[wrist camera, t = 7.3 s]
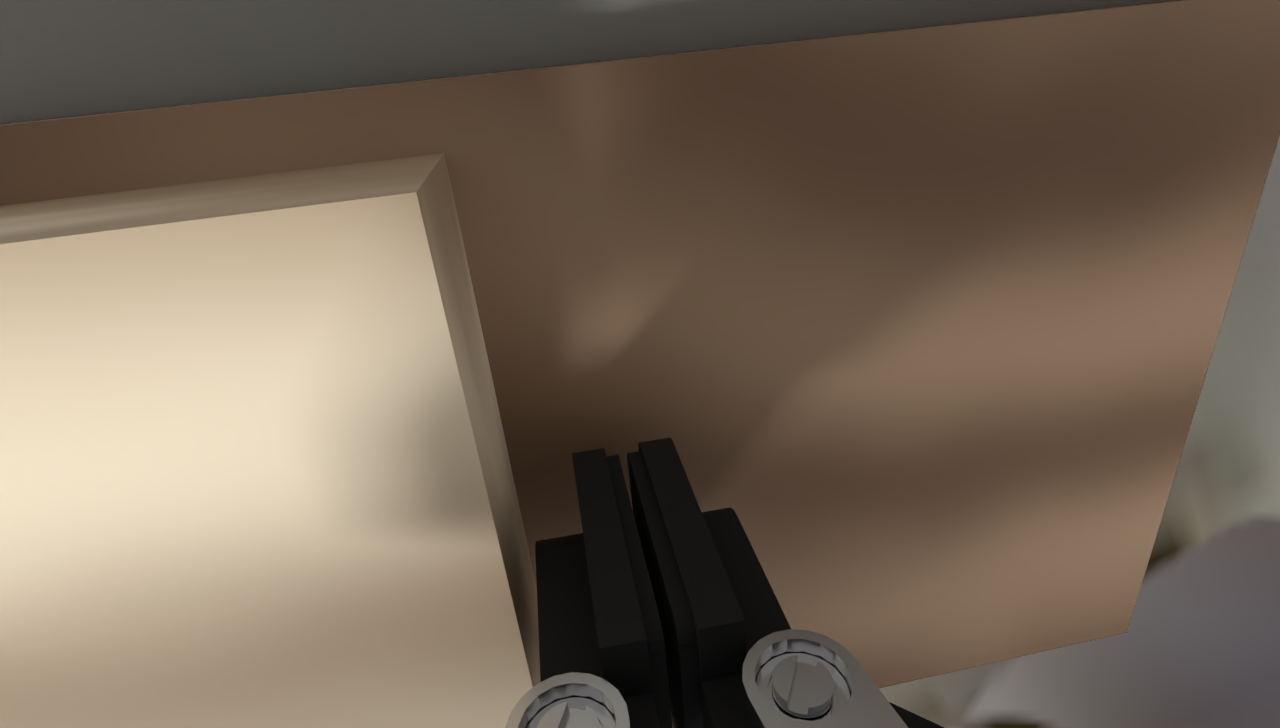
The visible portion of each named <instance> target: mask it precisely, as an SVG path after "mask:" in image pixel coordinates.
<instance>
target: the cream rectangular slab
mask: <svg viewBox="0 0 1280 728" xmlns="http://www.w3.org/2000/svg"><path fill="white" fill-rule="evenodd" d="M538 683H540V657H539V631H538V606H537V587H536V582H535V577H534V573H533V568H532V563H531V559H530V554H529V549H528V544H527V540H526V535H525V530H524V526H523V521H522V516H521V511H520V507H519V502H518V497H517V493H516V488H515V483H514V479H513V474H512V469H511V464H510V460H509V455H508V450H507V446H506V441H505V436H504V431H503V427H502V422H501V417H500V413H499V408H498V403H497V398H496V394H495V389H494V384H493V380H492V375H491V370H490V366H489V361H488V356H487V351H486V347H485V342H484V337H483V333H482V328H481V323H480V318H479V314H478V309H477V304H476V300H475V295H474V290H473V285H472V281H471V276H470V271H469V267H468V262H467V257H466V253H465V248H464V243H463V238H462V234H461V229H460V224H459V220H458V215H457V210H456V205H455V201H454V196H453V191H452V187H451V182H450V177H449V173H448V168H447V163H446V158H445V154H444V153H440V154H432V155H423V156H415V157H406V158H398V159H390V160H381V161H373V162H364V163H356V164H348V165H339V166H331V167H322V168H314V169H306V170H297V171H289V172H280V173H272V174H264V175H255V176H247V177H238V178H230V179H222V180H213V181H205V182H196V183H188V184H180V185H171V186H163V187H154V188H146V189H138V190H129V191H121V192H112V193H104V194H96V195H87V196H79V197H70V198H62V199H54V200H45V201H37V202H28V203H20V204H12V205H3V206H0V728H505V727H506V724H507V721H508V718H509V716H510V713H511V711H512V710H513V708H514V707H515V705H516V704H517V703H518V701H519V700H520V698H521V697H522V696H523V695H524V694H525V693H527V692H528V691H529V690H530V689H531V688H533V687H534V686H535V685H536V684H538Z"/></svg>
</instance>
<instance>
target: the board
mask: <svg viewBox="0 0 1280 728" xmlns="http://www.w3.org/2000/svg"><path fill="white" fill-rule="evenodd" d="M1279 135H1280V0H1179V1H1169V2H1159V3H1150V4H1140V5H1131V6H1121V7H1112V8H1102V9H1093V10H1083V11H1074V12H1064V13H1055V14H1045V15H1036V16H1026V17H1017V18H1007V19H998V20H988V21H979V22H969V23H960V24H950V25H941V26H931V27H922V28H912V29H903V30H893V31H884V32H874V33H864V34H855V35H845V36H836V37H826V38H817V39H807V40H798V41H788V42H779V43H769V44H760V45H750V46H741V47H731V48H722V49H712V50H703V51H693V52H684V53H674V54H665V55H655V56H646V57H636V58H627V59H617V60H608V61H598V62H589V63H579V64H569V65H560V66H550V67H541V68H531V69H522V70H512V71H503V72H493V73H484V74H474V75H465V76H455V77H446V78H436V79H427V80H417V81H408V82H398V83H389V84H379V85H370V86H360V87H351V88H341V89H332V90H322V91H313V92H303V93H294V94H284V95H274V96H265V97H255V98H246V99H236V100H227V101H217V102H208V103H198V104H189V105H179V106H170V107H160V108H151V109H141V110H132V111H122V112H113V113H103V114H94V115H84V116H75V117H65V118H56V119H46V120H37V121H27V122H18V123H8V124H0V206H3V205H12V204H20V203H28V202H37V201H45V200H54V199H62V198H70V197H79V196H87V195H96V194H104V193H112V192H121V191H129V190H138V189H146V188H154V187H163V186H171V185H180V184H188V183H196V182H205V181H213V180H222V179H230V178H238V177H247V176H255V175H264V174H272V173H280V172H289V171H297V170H306V169H314V168H322V167H331V166H339V165H348V164H356V163H364V162H373V161H381V160H390V159H398V158H406V157H415V156H423V155H432V154H440V153H444V154H445V158H446V163H447V168H448V173H449V177H450V182H451V187H452V191H453V196H454V201H455V205H456V210H457V215H458V220H459V224H460V229H461V234H462V238H463V243H464V248H465V253H466V257H467V262H468V267H469V271H470V276H471V281H472V285H473V290H474V295H475V300H476V304H477V309H478V314H479V318H480V323H481V328H482V333H483V337H484V342H485V347H486V351H487V356H488V361H489V366H490V370H491V375H492V380H493V384H494V389H495V394H496V398H497V403H498V408H499V413H500V417H501V422H502V427H503V431H504V436H505V441H506V446H507V450H508V455H509V460H510V464H511V469H512V474H513V479H514V483H515V488H516V493H517V497H518V502H519V507H520V511H521V516H522V521H523V526H524V530H525V535H526V540H527V544H528V549H529V554H530V559H531V563H532V568H533V573H534V577H535V582H536V587H537V581H536V555H535V543H536V541H540V540H545V539H551V538H557V537H563V536H568V535H574V534H580V533H583V530H582V523H581V516H580V509H579V502H578V494H577V487H576V480H575V473H574V466H573V459H572V453H576V452H582V451H589V450H595V449H601V448H604V449H605V453H606V457H607V456H613V455H619V459H620V463H621V467H622V471H623V474H624V478H625V482H626V486H627V490H628V494H629V498H630V502H631V506H632V499H631V489H630V480H629V470H628V460H627V453H631V452H637V451H638V443H639V442H645V441H651V440H657V439H663V438H672V440H673V443H674V445H675V447H676V450H677V452H678V455H679V457H680V460H681V462H682V465H683V467H684V470H685V472H686V475H687V477H688V480H689V482H690V485H691V487H692V490H693V492H694V495H695V497H696V500H697V502H698V505H699V507H700V509H701V512H706V511H712V510H718V509H723V508H729V507H731V508H732V509H734V511H735V513H736V514H737V516H738V518H739V520H740V522H741V525H742V527H743V529H744V531H745V533H746V535H747V537H748V539H749V541H750V543H751V545H752V548H753V550H754V552H755V554H756V556H757V558H758V560H759V562H760V564H761V566H762V569H763V571H764V573H765V575H766V577H767V579H768V581H769V583H770V585H771V587H772V589H773V592H774V594H775V596H776V598H777V600H778V602H779V604H780V606H781V608H782V610H783V613H784V615H785V617H786V619H787V621H788V623H789V625H790V627H791V629H797V630H809V631H813V632H816V633H819V634H822V635H826V636H828V637H829V638H831V639H833V640H834V641H836V642H838V643H839V644H841V645H843V646H844V647H845V648H846V649H847V650H848V651H849V652H850V653H851V654H852V655H853V656H854V657H855V658H856V660H857V661H858V662H859V664H860V665H861V666H862V668H863V669H864V670H865V672H866V673H867V674H868V675H869V677H870V678H871V679H872V681H873V682H874V683H875V685H876V686H877V687H878V688H882V687H887V686H891V685H896V684H900V683H905V682H909V681H913V680H918V679H922V678H927V677H931V676H936V675H940V674H945V673H949V672H954V671H958V670H963V669H967V668H971V667H976V666H980V665H985V664H989V663H994V662H998V661H1003V660H1007V659H1012V658H1016V657H1020V656H1025V655H1029V654H1034V653H1038V652H1043V651H1047V650H1052V649H1056V648H1061V647H1065V646H1069V645H1074V644H1078V643H1083V642H1087V641H1092V640H1096V639H1101V638H1105V637H1109V636H1114V635H1119V634H1123V633H1127V630H1128V627H1129V624H1130V620H1131V617H1132V614H1133V611H1134V607H1135V604H1136V601H1137V597H1138V594H1139V591H1140V588H1141V584H1142V581H1143V578H1144V575H1145V571H1146V568H1147V565H1148V562H1149V558H1150V555H1151V552H1152V549H1153V545H1154V542H1155V539H1156V536H1157V532H1158V529H1159V526H1160V523H1161V519H1162V516H1163V513H1164V510H1165V506H1166V503H1167V500H1168V497H1169V493H1170V490H1171V487H1172V483H1173V480H1174V477H1175V474H1176V470H1177V467H1178V464H1179V461H1180V457H1181V454H1182V451H1183V448H1184V444H1185V441H1186V438H1187V435H1188V431H1189V428H1190V425H1191V422H1192V418H1193V415H1194V412H1195V409H1196V405H1197V402H1198V399H1199V396H1200V392H1201V389H1202V386H1203V382H1204V379H1205V376H1206V373H1207V369H1208V366H1209V363H1210V360H1211V356H1212V353H1213V350H1214V347H1215V343H1216V340H1217V337H1218V334H1219V330H1220V327H1221V324H1222V321H1223V317H1224V314H1225V311H1226V308H1227V304H1228V301H1229V298H1230V295H1231V291H1232V288H1233V285H1234V282H1235V278H1236V275H1237V272H1238V268H1239V265H1240V262H1241V259H1242V255H1243V252H1244V249H1245V246H1246V242H1247V239H1248V236H1249V233H1250V229H1251V226H1252V223H1253V220H1254V216H1255V213H1256V210H1257V207H1258V203H1259V200H1260V197H1261V194H1262V190H1263V187H1264V184H1265V181H1266V177H1267V174H1268V171H1269V168H1270V164H1271V161H1272V158H1273V154H1274V151H1275V148H1276V145H1277V141H1278V138H1279ZM632 510H633V508H632ZM672 728H674V727H673V723H672Z"/></svg>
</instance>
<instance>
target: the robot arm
mask: <svg viewBox="0 0 1280 728" xmlns="http://www.w3.org/2000/svg"><path fill="white" fill-rule="evenodd" d="M572 459H573V466H574V473H575V480H576V487H577V494H578V502H579V509H580V516H581V523H582V530H583V533H580V534H574V535H568V536H563V537H557V538H551V539H545V540H540V541H536V543H535V555H536V581H537V606H538V631H539V657H540V683H538V684H536V685H535V686H534V687H533V688H531V689H530V690H529V691H528V692H527V693H525V694H524V695H523V696H522V697H521V698H520V700H519V701H518V703H517V704H516V705H515V707H514V708H513V710H512V711H511V713H510V716H509V718H508V721H507V724H506V727H505V728H672V723H673V727H674V728H944V727H942V726H939V725H937V724H935V723H933V722H931V721H929V720H926V719H924V718H922V717H920V716H918V715H916V714H914V713H911V712H909V711H907V710H905V709H903V708H901V707H899V706H896V705H894V704H892V703H890V702H888V700H887V699H886V698H885V696H884V695H883V694H882V693H881V691H880V690H879V689H878V687H877V686H876V685H875V683H874V682H873V681H872V679H871V678H870V677H869V675H868V674H867V673H866V672H865V670H864V669H863V668H862V666H861V665H860V664H859V662H858V661H857V660H856V658H855V657H854V656H853V655H852V654H851V653H850V652H849V651H848V650H847V649H846V648H845V647H844V646H843V645H841V644H839V643H838V642H836V641H834V640H833V639H831V638H829V637H828V636H826V635H822V634H819V633H816V632H813V631H809V630H797V629H791V627H790V625H789V623H788V621H787V619H786V617H785V615H784V613H783V610H782V608H781V606H780V604H779V602H778V600H777V598H776V596H775V594H774V592H773V589H772V587H771V585H770V583H769V581H768V579H767V577H766V575H765V573H764V571H763V569H762V566H761V564H760V562H759V560H758V558H757V556H756V554H755V552H754V550H753V548H752V545H751V543H750V541H749V539H748V537H747V535H746V533H745V531H744V529H743V527H742V525H741V522H740V520H739V518H738V516H737V514H736V513H735V511H734V509H732V508H731V507H729V508H723V509H718V510H712V511H706V512H701V509H700V507H699V505H698V502H697V500H696V497H695V495H694V492H693V490H692V487H691V485H690V482H689V480H688V477H687V475H686V472H685V470H684V467H683V465H682V462H681V460H680V457H679V455H678V452H677V450H676V447H675V445H674V443H673V440H672V438H663V439H657V440H651V441H645V442H639V443H638V451H637V452H631V453H627V460H628V470H629V480H630V489H631V499H632V506H631V502H630V498H629V494H628V490H627V486H626V482H625V478H624V474H623V471H622V467H621V463H620V459H619V455H613V456H607V457H606V453H605V449H604V448H601V449H595V450H589V451H582V452H576V453H572ZM632 508H633V510H632Z"/></svg>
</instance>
